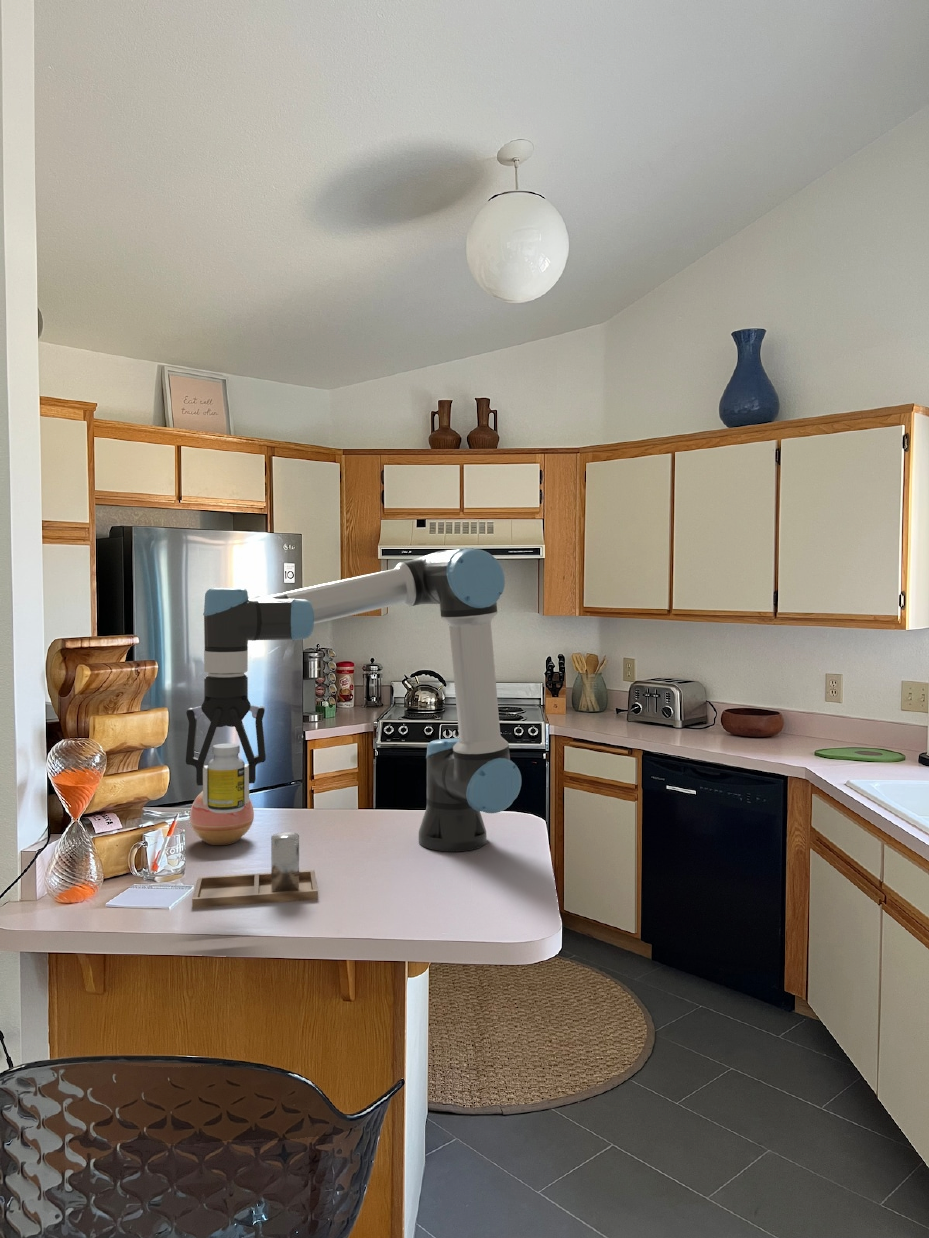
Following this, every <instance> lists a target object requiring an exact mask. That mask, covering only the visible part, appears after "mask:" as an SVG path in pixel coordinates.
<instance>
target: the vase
mask: <svg viewBox="0 0 929 1238" xmlns="http://www.w3.org/2000/svg"><path fill="white" fill-rule="evenodd" d="M254 811H255V810H254V805H253V802H252V800H251V797H249V803H245V806H244V808H243V809H242V810H240V811H237V812H233V813H215V812H211V811H210V810H209V809H208V804H207V805H203V790H202V791H201V792H199V794H198V795H197V796H196V798H195V799H194V801H193V802H192V805H191V808H190V812H189V822H190V823H189V824H190V827H191V829H192V831H193V832H194V833H195V835H196V836H197V837H198V838H200V839H201V840H202V841H204V842H205V843H206V844H208V845H211V846H227V845H231V844H235V843H237V842H238V841H240V839H241V838H242V837H243V836H245V835H246V834H247V833H248V832H249V830H250V829H251V826H252V825H253V822H254V817H255V812H254Z"/></svg>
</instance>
